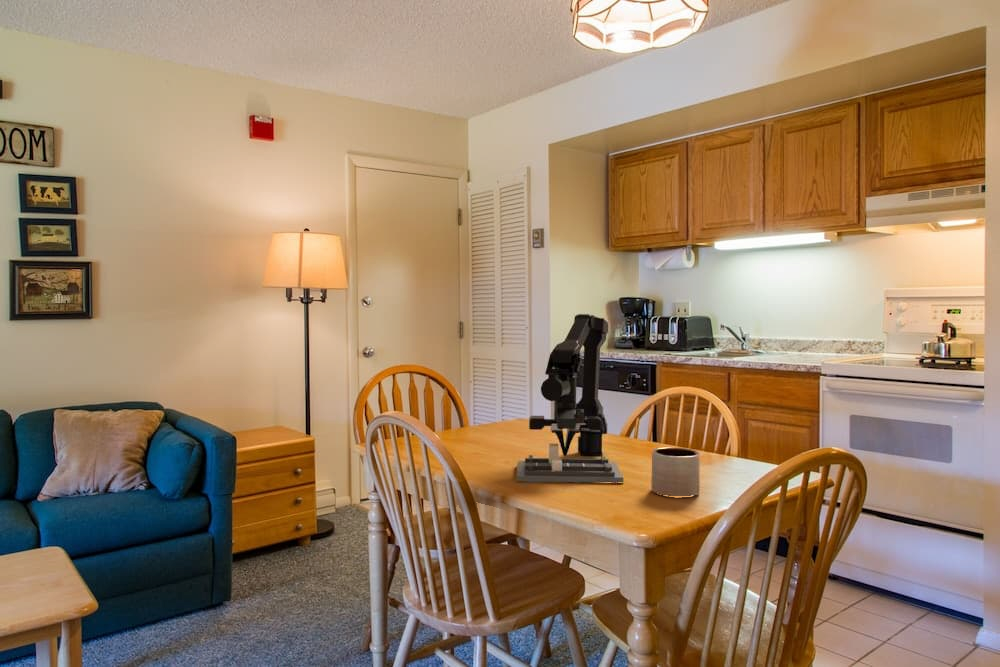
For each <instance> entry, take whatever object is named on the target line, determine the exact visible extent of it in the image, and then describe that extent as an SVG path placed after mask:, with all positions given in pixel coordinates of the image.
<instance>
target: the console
mask: <svg viewBox="0 0 1000 667" xmlns="http://www.w3.org/2000/svg"><path fill="white" fill-rule="evenodd" d="M516 467H517V468H516V482H517V481H527V482H526V483H543V482H612V483H613V482H615V483H616V482H617V483H618V482H623V483H624V476H623V474H622V472H621V471H620V468H619V466H618V465H617V463H616V462H615V461H613V462H612V461H609V459H608V458H606V456H605V455H600V458H561V457H559V459H552V463H549V457H547V458H545V457H544V458H543V457H542V458H541V457H536V458H535V457H534V455H533V454H532V455H531V454H529V455H528V457H525V458H524V460H517V466H516ZM612 483H611V484H612Z"/></svg>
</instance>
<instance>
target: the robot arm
mask: <svg viewBox="0 0 1000 667" xmlns="http://www.w3.org/2000/svg"><path fill="white" fill-rule="evenodd" d="M609 328H610V327H609V322H608V321H607V320H606V319H605V318H604V317H597V316H595V315H594V314H591V313H588V314H587V313H578V314H576V315H574V322H573V324H572V325H571V327H570V329H569V331H568V333H567V335H566V337H565V338H564V340H563V341H562V342H560V343H557V344H556V345H555V346H554V348H553V349H552V351H551V352H550V354H549V357H548V362H547V365H546V368H545V373H544V374H545V375H546V376H547V375H548V377H547V378H546V379H545V380H543V382H542V384H541V387H540V393H541V395H542V396H543V397H542V398H544V399H545V400H547V401H549V402H553V413H554V414H553V418H545V415H530V417H529V421H528V423H529V425H528V426H529V428H528V429H529V430H533V431H534V430H537V431H541V430H543V429H544V428H545V427H550V430H551V431H550V432H551V433H552V434H555V435H556V437H557V439H558V442H559V444H560V448H561V452H562V455H563V457H565V456H566V457H567V455H568V453H569V452H568V451H569V449H570V446H571V444H572V442H573V441H572V440H573V439H574V437H575V435H576V434H579V435H578V436H577V452H578V453H579V456H604V454H603V453H604V452H603V435H607V434H608V423H607V420H606V417H605V414H604V408H603V405H602V403H601V402H600V399H599V385H600V384H599V383H600V382H599V380H600V378H599V377H600V360H601V359H600V358H601V356H600V355H601V348H602V346H604V344H605V342H606V341H607V335H608V333H609ZM582 347H583V358H582V354H581V349H582ZM582 362H583V364H582ZM581 365H583V366H582V367H583V368H582V383H581V384H582V386H581V398H580V399H579V401H578V402H577V378H578V374H579V372H580V368H581ZM565 429H566V435H565V439H564V431H563V430H565Z"/></svg>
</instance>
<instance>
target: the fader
mask: <svg viewBox="0 0 1000 667" xmlns="http://www.w3.org/2000/svg"><path fill="white" fill-rule="evenodd" d="M559 452H560V449H559V443H554V442H553V443H548V458H549V463H552V459H559V458H560V457H559Z"/></svg>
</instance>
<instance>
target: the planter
mask: <svg viewBox="0 0 1000 667" xmlns="http://www.w3.org/2000/svg"><path fill="white" fill-rule="evenodd" d="M700 458H701V454H700V452H699V451H697V450H694V449H692V448H686V447H680V446H679V447H678V446H677V447H676V446H673V447H672V446H667V447H666V446H665V447H657V448H654V449H652V451H651V477H650V478H651V481H650V482H651V484H650V485H651V488H650V489H651V491H652V492H653V491H654V492H653V493H655V494H656V493H658V494H661V495H668V496H691V495H696V494H697V495H699V494H700V489H701V488H700V487H701V485H700V484H701V483H700V479H701V477H700V476H701V475H700V472H701V470H700V469H701V468H700V466H701V465H700V464H701V463H700V462H701V461H700V460H701V459H700ZM698 493H699V494H698ZM658 494H657V495H658ZM697 495H696V496H697Z"/></svg>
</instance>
